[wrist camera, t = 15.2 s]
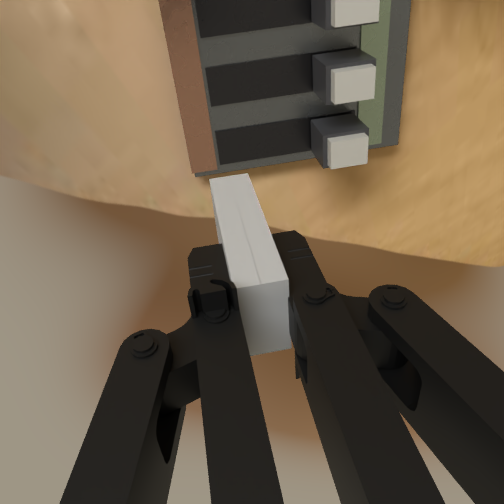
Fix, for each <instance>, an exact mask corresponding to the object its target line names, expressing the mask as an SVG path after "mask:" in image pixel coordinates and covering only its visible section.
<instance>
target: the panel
mask: <svg viewBox="0 0 504 504" xmlns="http://www.w3.org/2000/svg"><path fill="white" fill-rule="evenodd" d="M159 5H160V11H161V16H162V21H163V26H164V31H165V36H166V41H167V46H168V52H169V57H170V62H171V67H172V72H173V77H174V82H175V87H176V93H177V98H178V103H179V108H180V113H181V118H182V123H183V128H184V133H185V139H186V144H187V149H188V154H189V159H190V164H191V169H192V173H195V177H199V176H205V175H211V174H217V173H224V172H230V171H236V170H242V169H249V168H255V167H261V166H267V165H274V164H280V163H286V162H292V161H298V160H305V159H311V158H316V157H315V156H314V154H313V153H312V151H311V120H313V119H319V118H326V117H332V116H339V115H345V114H352V113H354V114H355V115H356V116H357V117H358V118H359V119H360V120H361V121H362V122H363V123H364V124H365V125H366V126H367V127H368V128H369V141H368V149H373V148H379V147H386V146H392V145H398V138H399V127H400V116H401V105H402V94H403V83H404V72H405V62H406V51H407V40H408V29H409V18H410V7H411V0H380V5H379V22H378V23H375V24H368V25H361V26H354V27H347V28H340V29H333V30H324V29H322V28H321V27H319V26H317V25H316V24H314V23H312V18H311V0H159ZM357 48H359V49H361V50H362V51H364V52H366V53H367V54H369V55H371V56H373V57H374V58H376V76H375V94H374V99H368V100H362V101H355V102H349V103H342V104H331V105H325V104H324V103H323V101H322V100H321V99H320V98H319V97H318V96H317V95H316V94H315V93H314V92H313V64H312V55H316V54H323V53H330V52H337V51H344V50H350V49H357Z"/></svg>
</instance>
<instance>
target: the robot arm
mask: <svg viewBox="0 0 504 504" xmlns="http://www.w3.org/2000/svg"><path fill="white" fill-rule="evenodd" d="M209 181H210V188H211V195H212V201H213V208H214V215H215V221H216V228H217V234H218V240H219V244H215V245H209V246H203V247H197V248H193V249H192V251H191V253H190V255H189V257H188V266H189V275H190V285H191V288H190V289H189V291H188V301H189V306H190V310H191V318H190V319H189V320H188V321H187V323H186V324H184V325H183V326H182V327H180V328H179V329H177V330H175V331H173V332H171V333H168V334H165V333H163V332H161V331H160V330H155V329H147V330H141V331H138V332H136V333H134V334H132V335H130V336H129V337H128V338H127V339H126V340H124V342H123V343H122V345H121V346H120V348H119V351H118V354H117V357H116V359H115V361H114V364H113V366H112V369H111V371H110V374H109V377H108V379H107V382H106V384H105V387H104V390H103V392H102V395H101V398H100V400H99V403H98V405H97V408H96V410H95V413H94V416H93V418H92V421H91V423H90V426H89V428H88V431H87V434H86V437H85V439H84V441H83V444H82V447H81V449H80V452H79V454H78V457H77V460H76V462H75V465H74V467H73V470H72V473H71V475H70V478H69V480H68V483H67V486H66V488H65V491H64V493H63V496H62V499H61V501H60V504H167V499H168V494H169V489H170V484H171V479H172V474H173V469H174V464H175V459H176V455H177V450H178V444H179V439H180V435H181V430H182V425H183V420H184V416H185V411H186V405H187V404H188V403H191V402H193V401H194V400H196V399H198V398H201V407H202V416H203V426H204V436H205V446H206V455H207V465H208V475H209V483H210V494H211V504H284V502H283V497H282V493H281V489H280V485H279V480H278V476H277V471H276V467H275V463H274V458H273V454H272V450H271V445H270V441H269V437H268V432H267V428H266V423H265V419H264V415H263V410H262V406H261V401H260V397H259V393H258V388H257V384H256V380H255V376H254V372H253V367H252V362H251V358H250V356H253V355H258V354H263V353H269V352H274V351H279V350H285V349H289V348H291V339H292V342H293V345H294V348H295V368H296V379H298V378H301V381H302V384H303V387H304V390H305V393H306V396H307V399H308V402H309V406H310V409H311V412H312V415H313V418H314V421H315V424H316V427H317V430H318V434H319V437H320V440H321V443H322V446H323V449H324V452H325V455H326V458H327V461H328V464H329V468H330V471H331V474H332V477H333V480H334V483H335V486H336V489H337V492H338V495H339V498H340V502H341V504H445V502H444V500H443V498H442V496H441V494H440V492H439V490H438V488H437V486H436V484H435V482H434V480H433V478H432V476H431V474H430V473H429V471H428V468H427V467H426V464H425V462H424V460H423V458H422V456H421V455H420V453H419V451H418V449H417V447H416V445H415V443H414V441H413V439H412V437H411V435H410V433H409V431H408V429H407V427H406V425H405V423H404V421H403V419H402V417H401V415H400V413H401V414H402V415H403V417H404V418H405V419H406V420H407V422H408V423H409V424H410V425H411V426H412V428H413V429H414V430H415V431H416V433H417V434H418V435H419V436H420V437H421V439H422V440H423V441H424V442H425V443H426V444H427V446H428V447H429V448H430V449H431V451H432V452H433V453H434V454H435V456H436V457H437V458H438V459H439V460H440V462H441V463H442V464H443V465H444V467H445V468H446V469H447V470H448V471H449V473H450V474H451V475H452V476H453V478H454V479H455V480H456V481H457V482H458V484H459V485H460V486H461V487H462V488H463V490H464V491H465V492H466V493H467V494H468V496H469V497H470V498H471V499H472V501H473V502H474V503H475V504H504V372H503V371H502V370H501V369H500V368H499V367H498V366H496V365H495V364H494V363H493V362H492V361H491V360H490V359H489V358H487V357H486V356H485V355H484V354H483V353H482V352H481V351H479V350H478V349H477V348H476V347H475V346H474V345H473V344H471V343H470V342H469V341H468V340H467V339H466V338H465V337H463V336H462V335H461V334H460V333H459V332H458V331H456V330H455V329H454V328H453V327H452V326H450V324H448V323H447V322H446V321H445V320H444V319H443V318H442V317H441V316H439V315H438V314H437V313H436V312H435V311H434V310H433V309H431V308H430V307H429V306H428V305H427V304H426V303H425V302H423V301H422V300H421V299H420V298H419V297H418V296H417V295H415V294H414V293H413V292H412V291H410V290H408V289H407V288H405V287H401V286H398V285H383V286H379V287H377V288H375V289H373V290H372V291H371V293H370V295H369V298H367V297H366V298H365V297H352V296H346V295H343V294H340V293H339V292H338V291H337V290H336V288H335V287H333V286H332V285H330V284H328V283H327V282H326V280H325V278H324V276H323V274H322V272H321V270H320V268H319V266H318V264H317V262H316V260H315V258H314V256H313V254H312V251H311V249H309V245H308V243H307V241H306V239H305V237H303V236H302V235H301V234H299V233H298V232H296V231H295V230H293V231H287V232H281V233H276V234H271V232H270V230H269V227H268V224H267V222H266V219H265V217H264V214H263V211H262V209H261V206H260V204H259V201H258V198H257V196H256V193H255V191H254V188H253V185H252V183H251V180H250V178H249V175H248V173H245V174H239V175H232V176H226V177H219V178H212V179H209ZM399 412H400V413H399Z"/></svg>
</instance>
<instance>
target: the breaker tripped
mask: <svg viewBox="0 0 504 504" xmlns="http://www.w3.org/2000/svg"><path fill="white" fill-rule="evenodd" d="M368 141H369V128H368V127H367V126H366V125H365V124H364V123H363V122H362V121H361V120H360V119H359V118H358V117H357V116H356V115H355V114H354V113H352V114H345V115H339V116H332V117H326V118H319V119H313V120H311V151H312V153H313V154H314V156H315V157H316V159H317V160H318V162H319V163H320V165H321V166H322V168H330V169H337V168H343V167H349V166H355V165H362V164H367V161H368Z"/></svg>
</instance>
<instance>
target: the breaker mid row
mask: <svg viewBox="0 0 504 504" xmlns="http://www.w3.org/2000/svg"><path fill="white" fill-rule="evenodd" d="M312 64H313V92H314V93H315V94H316V95H317V96H318V97H319V98H320V99H321V100H322V101H323V103H324V104H325V105H331V104H342V103H349V102H355V101H362V100H368V99H374V94H375V76H376V58H374V57H373V56H371V55H369V54H367V53H366V52H364V51H362V50H361V49H359V48H357V49H350V50H344V51H337V52H330V53H323V54H316V55H312Z"/></svg>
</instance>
